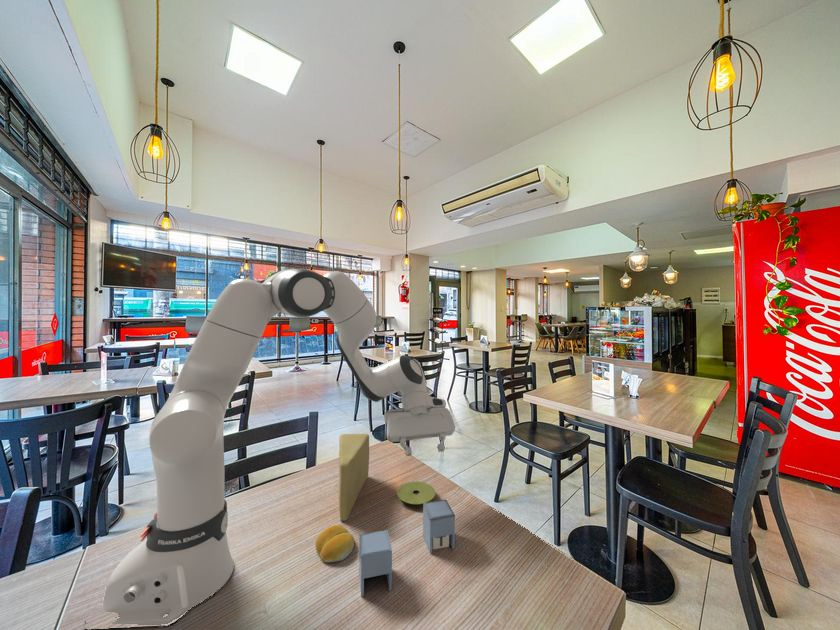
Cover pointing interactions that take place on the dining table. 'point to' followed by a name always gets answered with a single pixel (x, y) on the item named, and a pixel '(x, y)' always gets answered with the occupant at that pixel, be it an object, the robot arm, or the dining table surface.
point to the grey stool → (438, 522)
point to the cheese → (352, 469)
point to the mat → (416, 492)
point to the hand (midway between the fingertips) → (425, 453)
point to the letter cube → (440, 542)
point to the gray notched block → (375, 557)
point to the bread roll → (334, 544)
